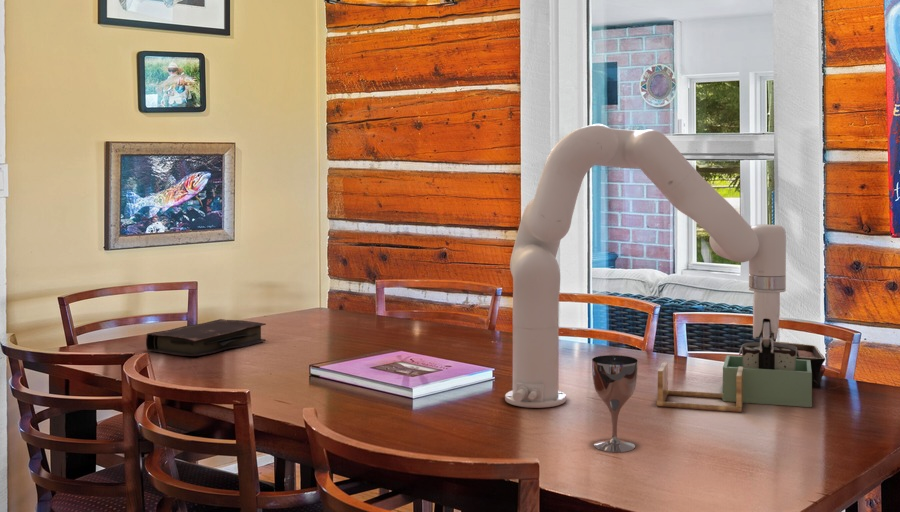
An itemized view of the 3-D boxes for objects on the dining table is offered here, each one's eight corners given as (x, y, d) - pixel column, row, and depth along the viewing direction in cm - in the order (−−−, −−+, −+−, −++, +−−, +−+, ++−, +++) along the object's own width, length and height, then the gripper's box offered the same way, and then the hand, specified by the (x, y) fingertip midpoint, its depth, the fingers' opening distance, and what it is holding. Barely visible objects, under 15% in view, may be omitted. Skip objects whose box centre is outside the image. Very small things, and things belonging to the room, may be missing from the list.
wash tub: (811, 407, 195) (811, 372, 195) (722, 401, 199) (722, 367, 199) (810, 392, 207) (810, 359, 207) (726, 387, 212) (726, 355, 212)
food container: (794, 389, 206) (794, 342, 206) (799, 396, 199) (799, 347, 200) (735, 387, 207) (735, 340, 207) (739, 394, 201) (739, 346, 201)
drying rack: (741, 412, 190) (741, 377, 190) (656, 406, 195) (657, 371, 195) (743, 399, 201) (743, 365, 201) (663, 393, 206) (663, 360, 206)
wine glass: (633, 438, 173) (633, 355, 173) (641, 452, 165) (641, 364, 165) (589, 439, 172) (589, 355, 172) (594, 453, 164) (594, 365, 164)
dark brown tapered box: (825, 383, 223) (821, 339, 225) (828, 389, 206) (824, 341, 208) (761, 384, 227) (757, 341, 229) (759, 390, 210) (756, 343, 212)
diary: (145, 351, 248) (145, 331, 249) (218, 335, 270) (218, 317, 270) (196, 359, 239) (196, 338, 239) (268, 342, 261) (268, 323, 261)
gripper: (750, 277, 213) (750, 359, 212) (747, 288, 196) (746, 376, 196) (785, 279, 210) (785, 361, 210) (785, 289, 194) (785, 378, 194)
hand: (766, 367), depth 203 cm, fingers closed on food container, 6 cm apart
